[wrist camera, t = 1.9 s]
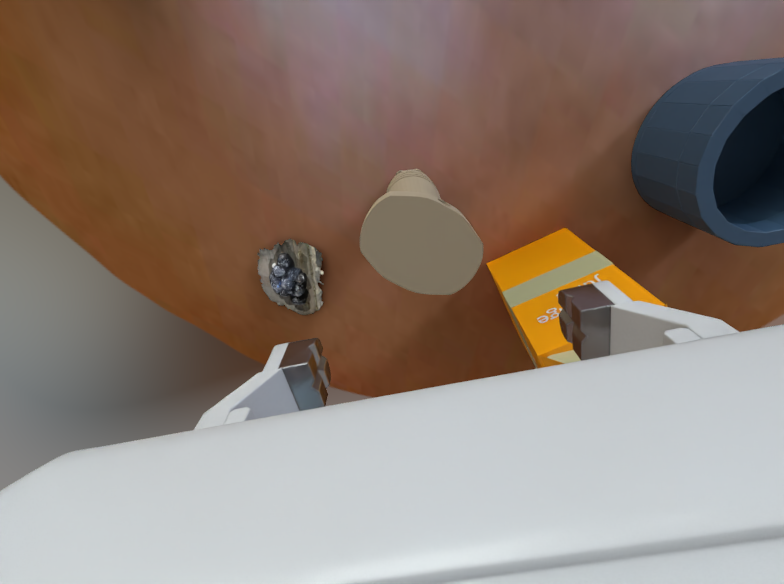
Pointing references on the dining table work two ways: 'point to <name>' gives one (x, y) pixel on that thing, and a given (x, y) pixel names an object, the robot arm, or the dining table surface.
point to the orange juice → (553, 290)
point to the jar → (718, 152)
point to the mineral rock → (292, 276)
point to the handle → (420, 238)
